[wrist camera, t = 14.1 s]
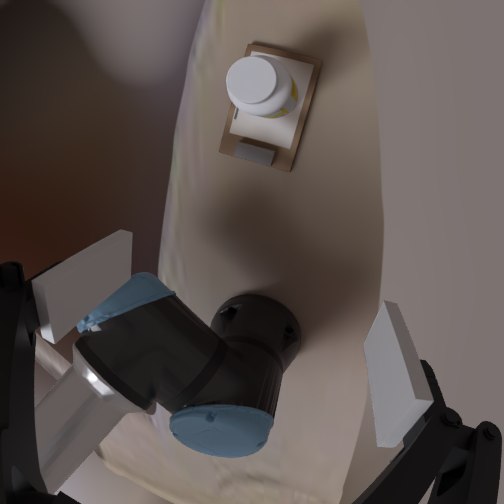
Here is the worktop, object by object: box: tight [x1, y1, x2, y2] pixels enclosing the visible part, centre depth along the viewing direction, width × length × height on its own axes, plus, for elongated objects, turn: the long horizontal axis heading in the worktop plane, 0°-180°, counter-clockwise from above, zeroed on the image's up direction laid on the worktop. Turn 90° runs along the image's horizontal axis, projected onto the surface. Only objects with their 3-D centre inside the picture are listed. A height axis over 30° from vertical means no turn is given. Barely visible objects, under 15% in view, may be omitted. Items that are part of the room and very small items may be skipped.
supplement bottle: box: [226, 55, 298, 119], centre depth 30 cm, size 7×7×13 cm
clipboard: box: [219, 44, 322, 172], centre depth 37 cm, size 16×10×2 cm, turn 165°
